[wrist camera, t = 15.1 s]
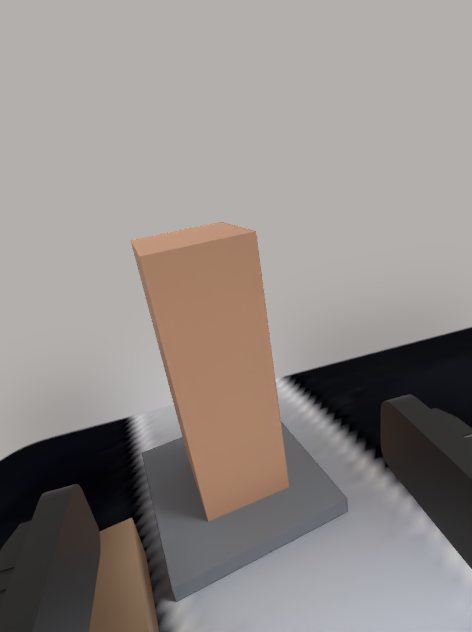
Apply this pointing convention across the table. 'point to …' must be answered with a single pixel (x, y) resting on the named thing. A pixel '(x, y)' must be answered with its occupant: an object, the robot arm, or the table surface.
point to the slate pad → (232, 515)
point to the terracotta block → (217, 359)
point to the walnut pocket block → (123, 584)
